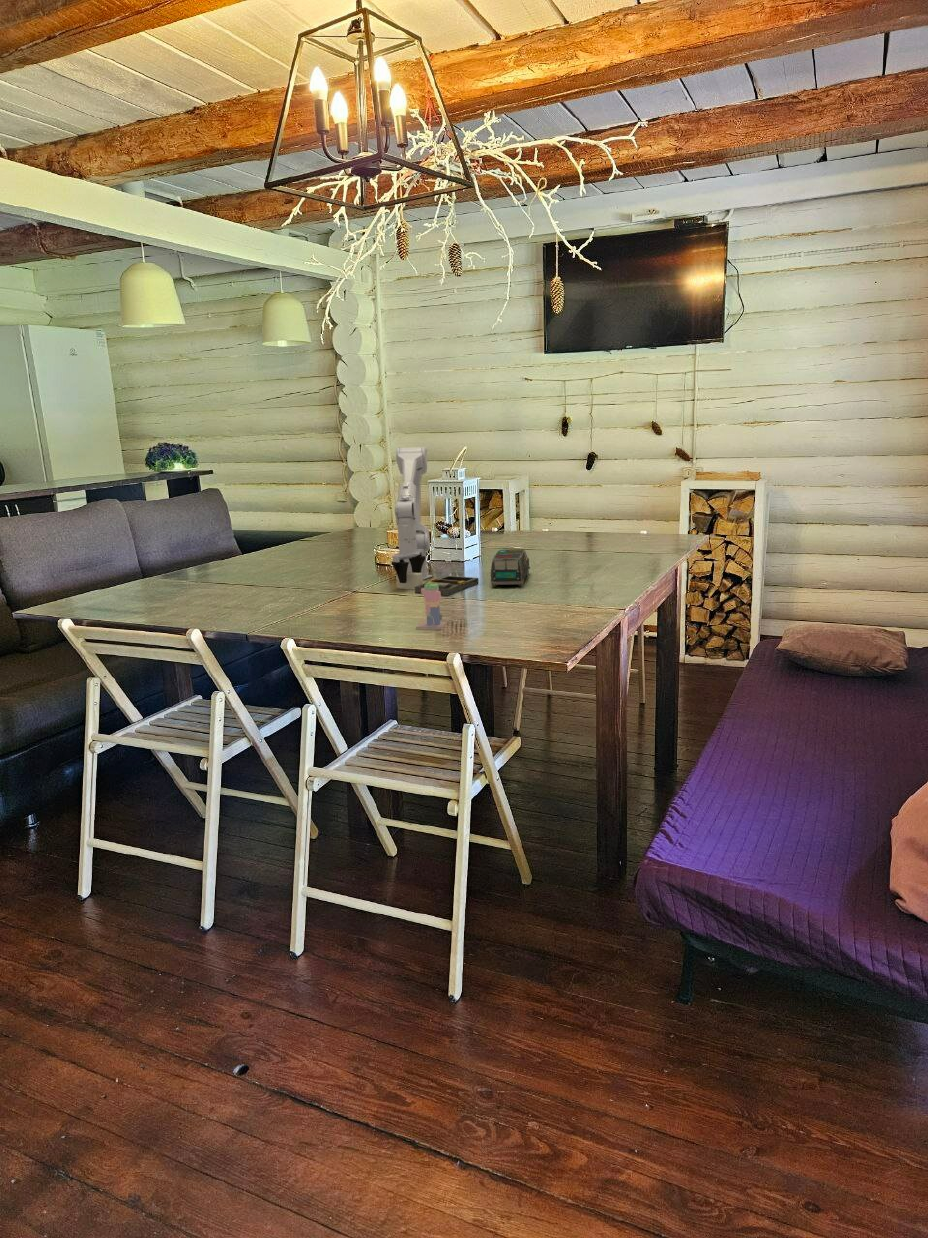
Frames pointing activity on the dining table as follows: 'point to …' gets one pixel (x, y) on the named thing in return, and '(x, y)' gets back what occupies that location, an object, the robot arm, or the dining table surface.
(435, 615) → the figurine
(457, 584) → the rack
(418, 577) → the tall cream block
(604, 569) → the dining table surface
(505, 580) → the toy van
